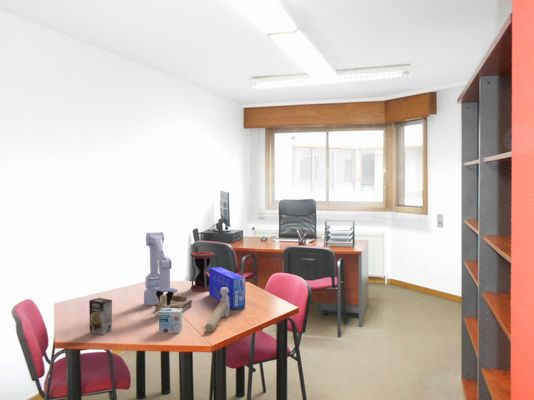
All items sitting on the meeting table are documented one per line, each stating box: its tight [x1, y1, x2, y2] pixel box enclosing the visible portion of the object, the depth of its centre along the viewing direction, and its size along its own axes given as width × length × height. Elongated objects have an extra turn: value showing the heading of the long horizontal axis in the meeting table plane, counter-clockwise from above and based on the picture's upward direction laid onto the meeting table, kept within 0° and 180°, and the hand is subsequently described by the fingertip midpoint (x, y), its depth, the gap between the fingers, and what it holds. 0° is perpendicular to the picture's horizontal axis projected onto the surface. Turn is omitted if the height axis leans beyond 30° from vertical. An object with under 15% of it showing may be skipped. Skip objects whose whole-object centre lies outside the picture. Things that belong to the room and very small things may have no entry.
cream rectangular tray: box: [154, 301, 193, 317], centre depth 254 cm, size 16×21×3 cm
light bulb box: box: [158, 308, 183, 334], centre depth 220 cm, size 11×7×11 cm, turn 90°
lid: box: [154, 294, 193, 308], centre depth 257 cm, size 17×14×4 cm
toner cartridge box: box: [208, 266, 246, 310], centre depth 275 cm, size 39×8×18 cm, turn 28°
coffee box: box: [88, 297, 113, 336], centre depth 218 cm, size 9×6×16 cm
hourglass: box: [190, 251, 215, 292], centre depth 306 cm, size 16×16×25 cm
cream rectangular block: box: [160, 294, 170, 310], centre depth 248 cm, size 4×4×8 cm
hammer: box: [204, 287, 231, 333], centre depth 232 cm, size 16×5×30 cm
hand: (164, 304), depth 248 cm, fingers closed on cream rectangular block, 4 cm apart
